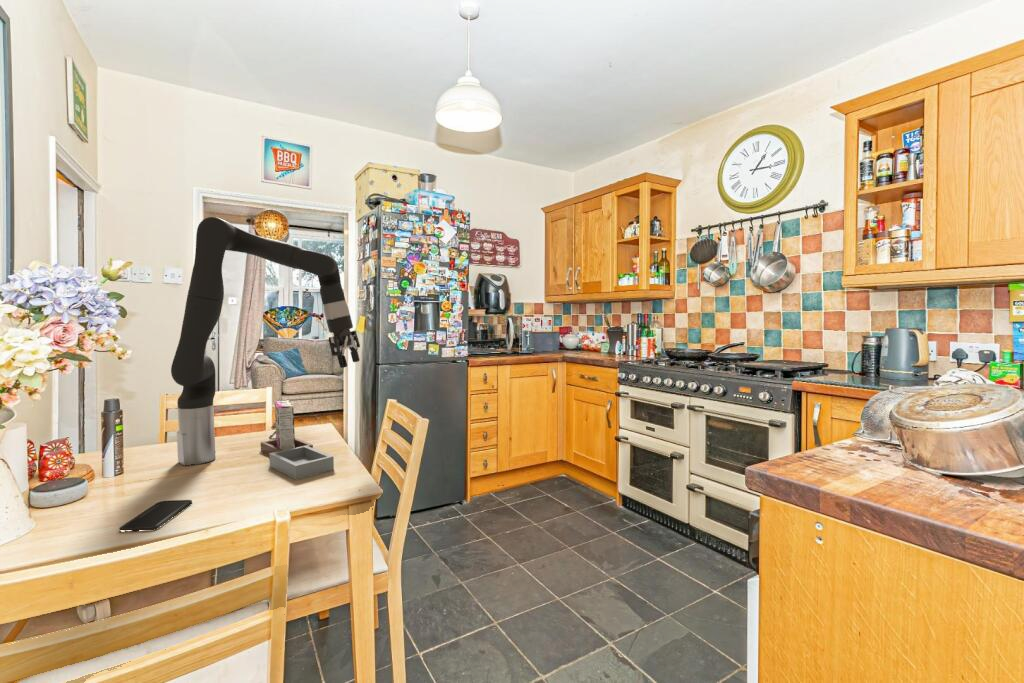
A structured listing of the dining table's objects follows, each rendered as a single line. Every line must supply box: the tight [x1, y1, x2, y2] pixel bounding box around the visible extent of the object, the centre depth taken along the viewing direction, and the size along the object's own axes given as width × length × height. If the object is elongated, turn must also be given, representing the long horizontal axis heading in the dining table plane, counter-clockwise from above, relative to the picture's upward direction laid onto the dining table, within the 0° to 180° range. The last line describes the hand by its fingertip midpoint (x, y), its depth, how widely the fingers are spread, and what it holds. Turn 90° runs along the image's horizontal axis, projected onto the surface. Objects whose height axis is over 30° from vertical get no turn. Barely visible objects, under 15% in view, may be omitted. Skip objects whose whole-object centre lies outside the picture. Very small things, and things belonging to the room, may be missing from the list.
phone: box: [118, 499, 193, 531], centre depth 110 cm, size 8×1×15 cm
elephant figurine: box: [268, 421, 276, 440], centre depth 177 cm, size 10×6×9 cm
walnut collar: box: [260, 437, 314, 455], centre depth 158 cm, size 10×16×3 cm, turn 49°
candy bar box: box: [274, 399, 296, 450], centre depth 158 cm, size 11×5×16 cm, turn 31°
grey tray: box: [268, 446, 335, 480], centre depth 143 cm, size 11×17×4 cm, turn 49°
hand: (350, 364), depth 158 cm, fingers open, 8 cm apart
